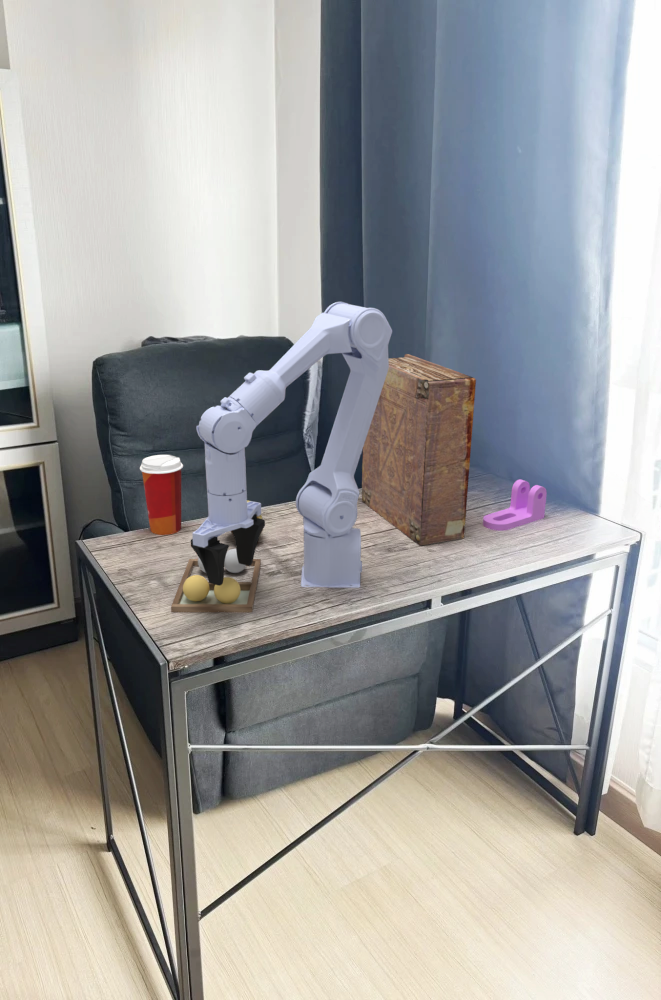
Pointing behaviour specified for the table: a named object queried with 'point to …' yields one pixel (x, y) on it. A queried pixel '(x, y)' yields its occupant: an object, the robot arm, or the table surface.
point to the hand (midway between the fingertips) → (230, 573)
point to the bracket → (519, 508)
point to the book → (420, 450)
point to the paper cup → (163, 493)
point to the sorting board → (210, 601)
